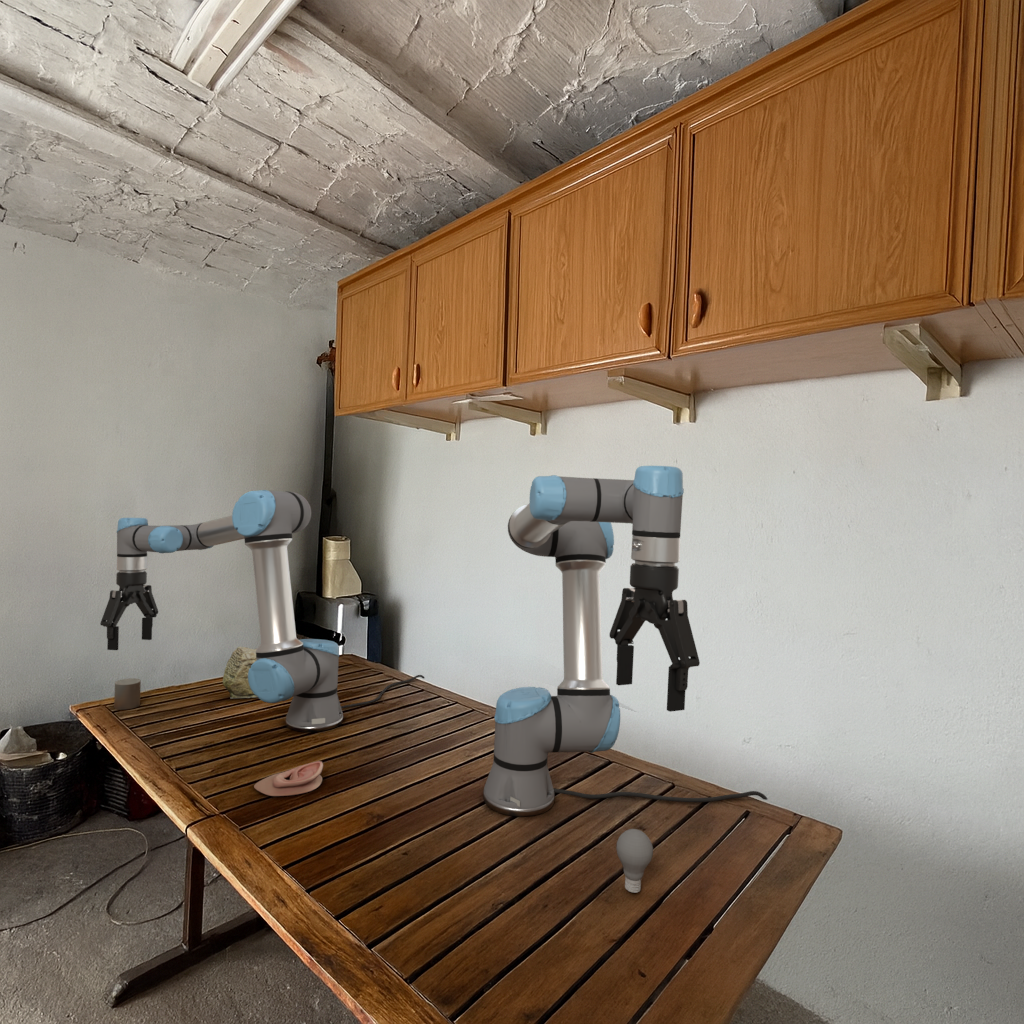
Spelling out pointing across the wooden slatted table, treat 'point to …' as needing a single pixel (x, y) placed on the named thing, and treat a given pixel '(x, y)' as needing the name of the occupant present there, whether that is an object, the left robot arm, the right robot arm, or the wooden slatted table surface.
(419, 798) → the wooden slatted table surface
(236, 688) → the fossil
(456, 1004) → the wooden slatted table surface
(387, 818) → the wooden slatted table surface
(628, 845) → the light bulb
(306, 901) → the wooden slatted table surface
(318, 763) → the anatomical model
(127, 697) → the can
